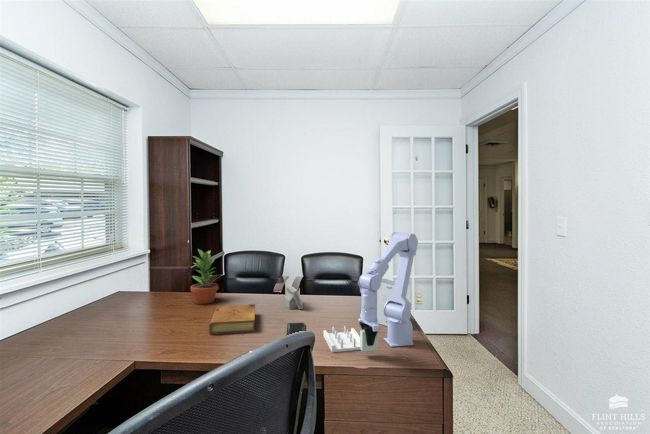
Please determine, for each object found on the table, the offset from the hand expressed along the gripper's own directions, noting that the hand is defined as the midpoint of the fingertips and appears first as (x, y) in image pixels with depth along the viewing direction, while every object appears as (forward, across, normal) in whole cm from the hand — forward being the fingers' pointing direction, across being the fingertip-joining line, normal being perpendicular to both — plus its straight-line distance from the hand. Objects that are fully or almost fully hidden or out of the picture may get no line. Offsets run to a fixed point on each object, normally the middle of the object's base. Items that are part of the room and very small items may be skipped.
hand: (368, 343), depth 120 cm
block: (+2, 0, 0) cm, 2 cm away
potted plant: (+5, -82, -68) cm, 107 cm away
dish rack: (+4, -13, -6) cm, 15 cm away
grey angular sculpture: (+5, -64, -20) cm, 67 cm away
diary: (+5, -43, -50) cm, 66 cm away
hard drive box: (+5, -31, +19) cm, 37 cm away
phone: (+5, -29, -23) cm, 37 cm away
